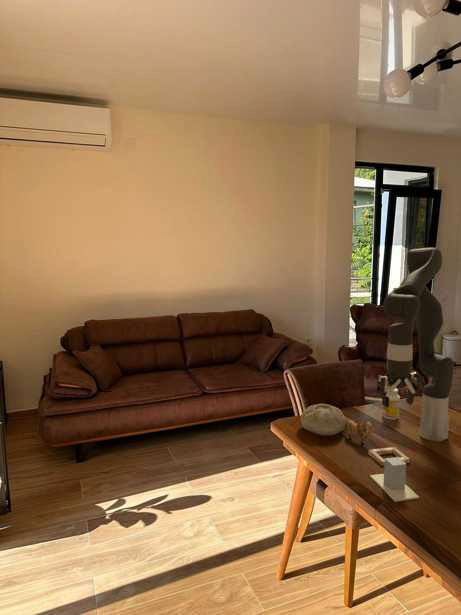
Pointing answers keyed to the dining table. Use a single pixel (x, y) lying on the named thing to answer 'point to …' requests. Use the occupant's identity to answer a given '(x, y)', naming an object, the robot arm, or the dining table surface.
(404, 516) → the dining table surface
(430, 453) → the dining table surface
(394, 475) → the block
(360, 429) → the lion figurine
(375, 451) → the pocket frame
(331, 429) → the decorative shell
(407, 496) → the tile
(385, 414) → the supplement bottle
